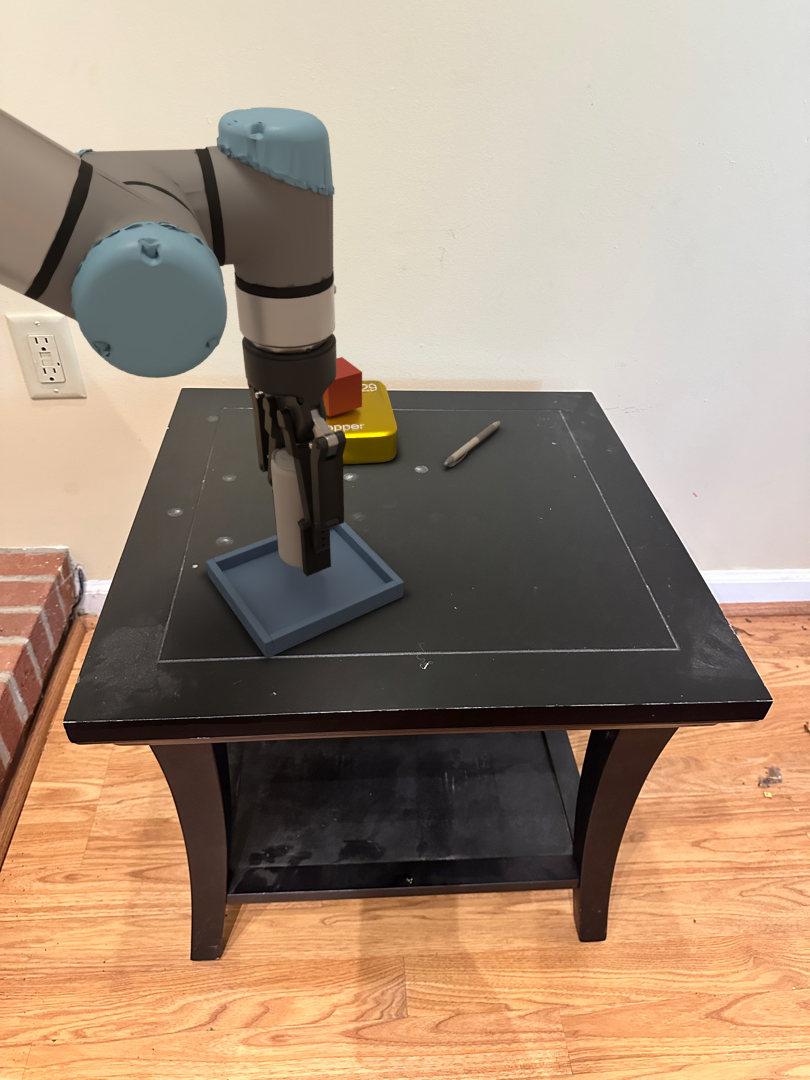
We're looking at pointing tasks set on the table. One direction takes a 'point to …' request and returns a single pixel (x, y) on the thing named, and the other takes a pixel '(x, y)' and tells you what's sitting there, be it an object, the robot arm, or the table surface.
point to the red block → (344, 389)
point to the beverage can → (287, 507)
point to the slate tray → (302, 589)
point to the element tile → (368, 427)
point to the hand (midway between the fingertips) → (303, 553)
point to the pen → (470, 445)
